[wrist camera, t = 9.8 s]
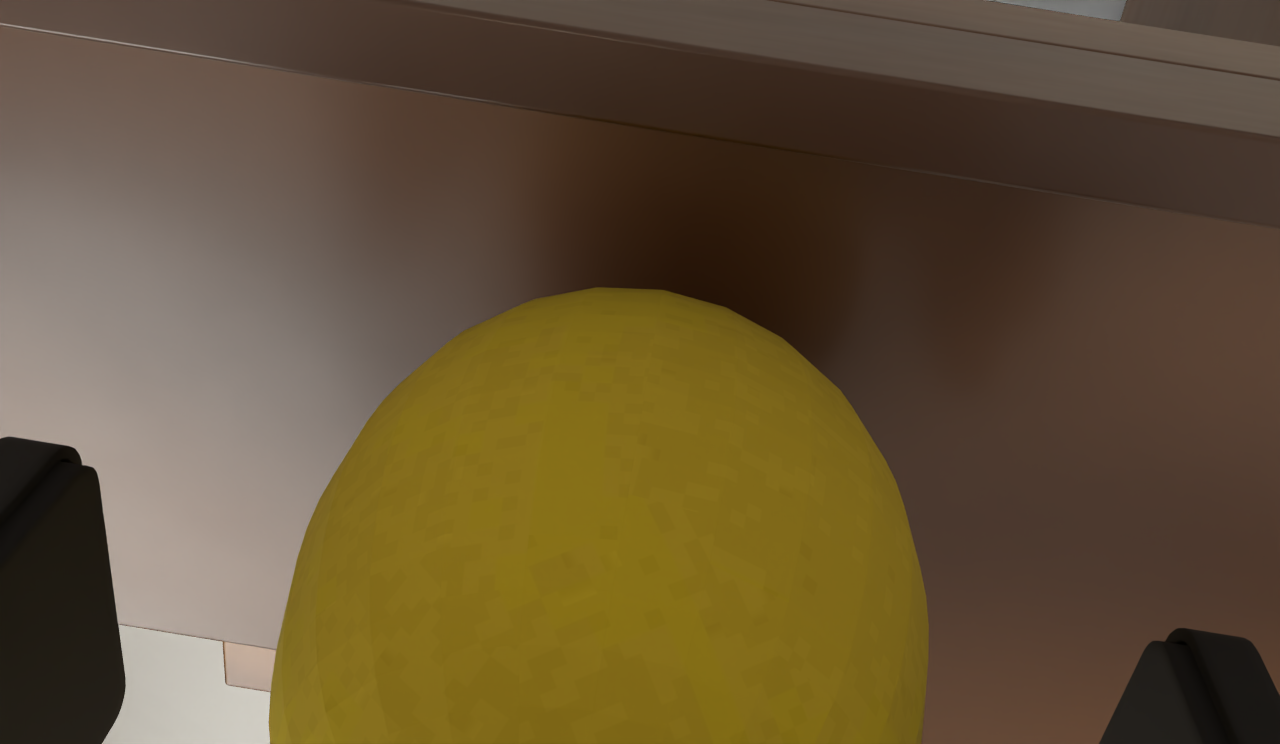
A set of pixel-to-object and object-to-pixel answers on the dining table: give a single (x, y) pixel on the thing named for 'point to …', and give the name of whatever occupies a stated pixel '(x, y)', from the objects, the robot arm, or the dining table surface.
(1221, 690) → the robot arm
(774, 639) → the lemon
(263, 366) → the stand
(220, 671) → the dining table surface
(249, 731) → the dining table surface
